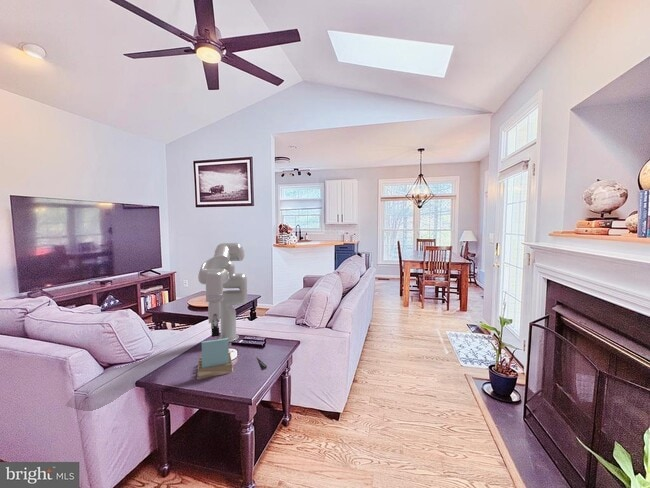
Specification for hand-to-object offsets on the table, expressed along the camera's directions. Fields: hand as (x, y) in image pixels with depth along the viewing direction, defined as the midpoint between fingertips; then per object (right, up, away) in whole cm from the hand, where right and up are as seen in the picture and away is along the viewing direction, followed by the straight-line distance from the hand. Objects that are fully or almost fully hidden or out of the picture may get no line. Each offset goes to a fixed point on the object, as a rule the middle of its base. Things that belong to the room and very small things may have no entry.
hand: (215, 332), depth 133 cm
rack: (-2, -21, +5) cm, 21 cm away
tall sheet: (0, -20, 0) cm, 20 cm away
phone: (+16, -21, +11) cm, 29 cm away
